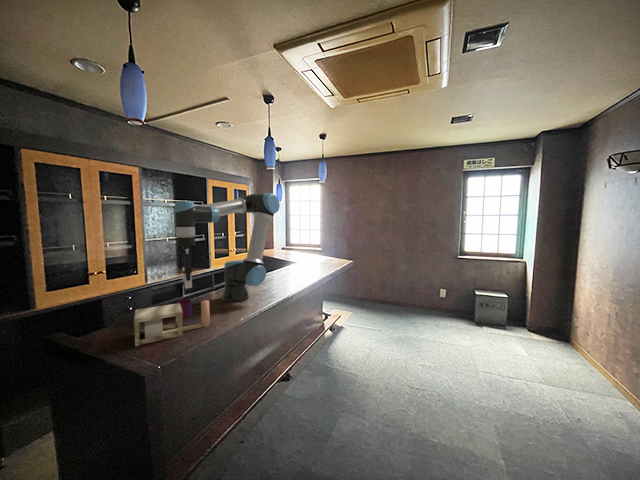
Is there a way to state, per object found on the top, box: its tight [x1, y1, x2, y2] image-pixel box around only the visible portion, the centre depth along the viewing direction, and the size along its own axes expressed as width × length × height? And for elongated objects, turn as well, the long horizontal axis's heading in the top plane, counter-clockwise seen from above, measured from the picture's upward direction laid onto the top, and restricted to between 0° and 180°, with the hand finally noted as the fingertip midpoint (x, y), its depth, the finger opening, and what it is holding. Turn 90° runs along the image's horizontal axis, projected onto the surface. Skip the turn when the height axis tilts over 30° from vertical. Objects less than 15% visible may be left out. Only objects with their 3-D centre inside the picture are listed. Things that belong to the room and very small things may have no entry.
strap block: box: [144, 299, 211, 339], centre depth 108 cm, size 24×6×11 cm, turn 123°
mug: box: [175, 299, 193, 319], centre depth 125 cm, size 7×10×7 cm
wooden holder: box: [133, 303, 184, 347], centre depth 105 cm, size 16×13×10 cm
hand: (187, 284), depth 113 cm, fingers open, 13 cm apart
